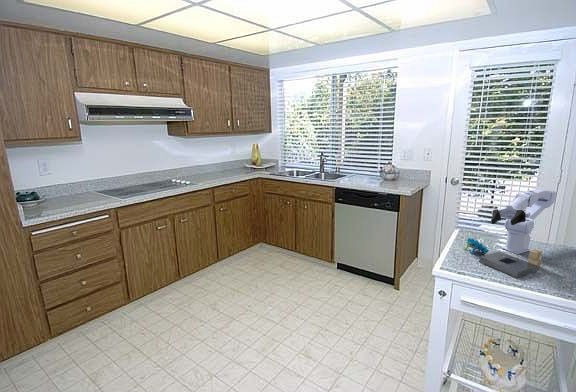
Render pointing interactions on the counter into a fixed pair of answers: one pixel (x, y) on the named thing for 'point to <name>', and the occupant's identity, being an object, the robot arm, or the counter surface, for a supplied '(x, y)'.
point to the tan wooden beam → (535, 257)
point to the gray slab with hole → (512, 268)
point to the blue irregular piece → (475, 245)
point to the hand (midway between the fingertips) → (501, 222)
